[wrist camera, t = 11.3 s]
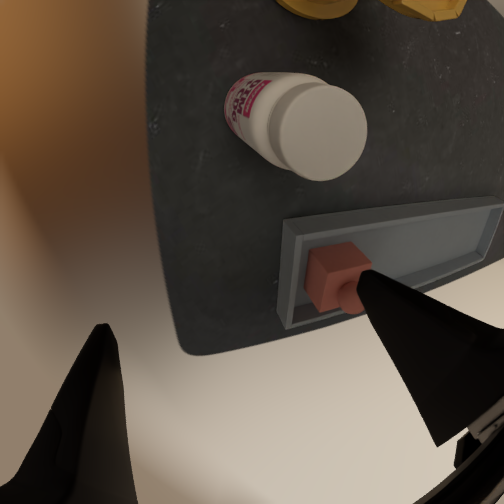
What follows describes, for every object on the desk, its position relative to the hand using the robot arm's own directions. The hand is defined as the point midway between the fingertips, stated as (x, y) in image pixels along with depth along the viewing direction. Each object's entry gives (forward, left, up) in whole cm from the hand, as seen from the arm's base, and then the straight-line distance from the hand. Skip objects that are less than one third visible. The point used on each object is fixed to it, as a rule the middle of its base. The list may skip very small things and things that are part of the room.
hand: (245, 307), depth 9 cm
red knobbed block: (+7, -12, -11) cm, 18 cm away
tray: (+20, -16, -12) cm, 28 cm away
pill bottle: (+5, +3, -12) cm, 13 cm away
